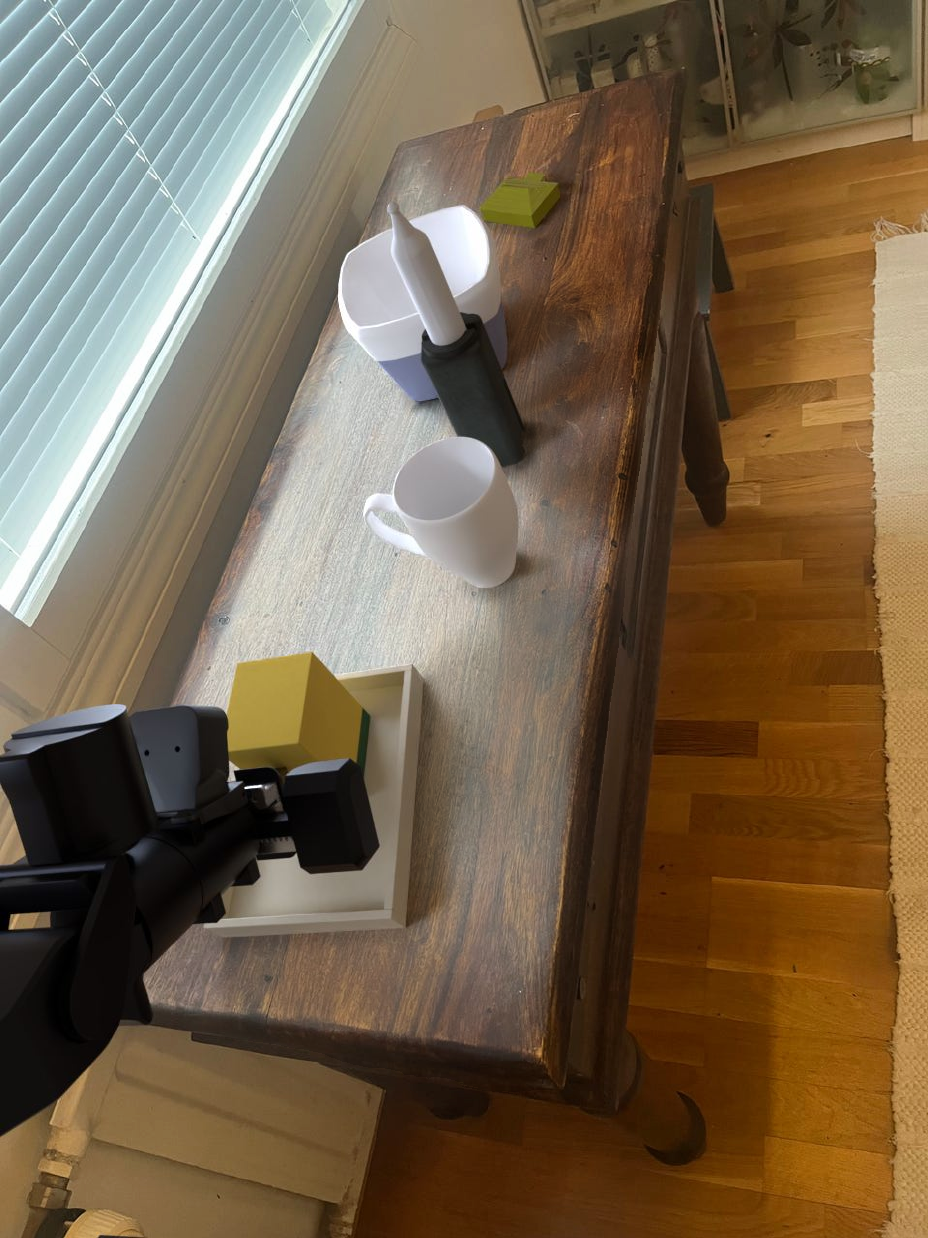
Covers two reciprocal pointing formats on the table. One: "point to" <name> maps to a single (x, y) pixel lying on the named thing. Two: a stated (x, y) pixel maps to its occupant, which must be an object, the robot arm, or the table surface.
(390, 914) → the tray
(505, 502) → the mug
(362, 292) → the bowl
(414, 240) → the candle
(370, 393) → the table surface
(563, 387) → the table surface
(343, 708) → the block
